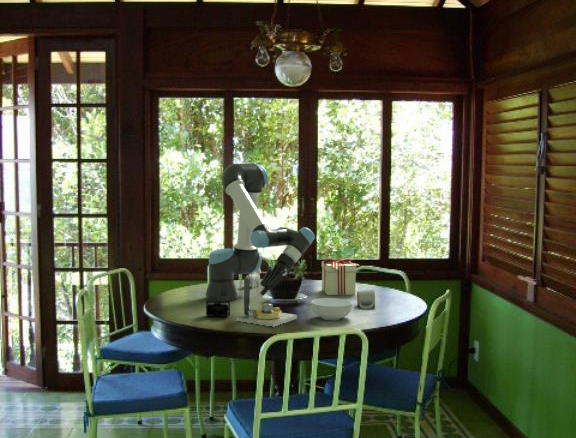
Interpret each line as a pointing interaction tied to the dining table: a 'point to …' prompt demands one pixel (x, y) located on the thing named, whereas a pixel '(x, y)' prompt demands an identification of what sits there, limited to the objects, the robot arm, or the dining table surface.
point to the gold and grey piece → (258, 312)
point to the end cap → (217, 309)
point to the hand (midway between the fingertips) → (255, 299)
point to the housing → (267, 322)
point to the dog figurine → (254, 278)
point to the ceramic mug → (366, 299)
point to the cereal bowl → (331, 308)
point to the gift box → (339, 277)
